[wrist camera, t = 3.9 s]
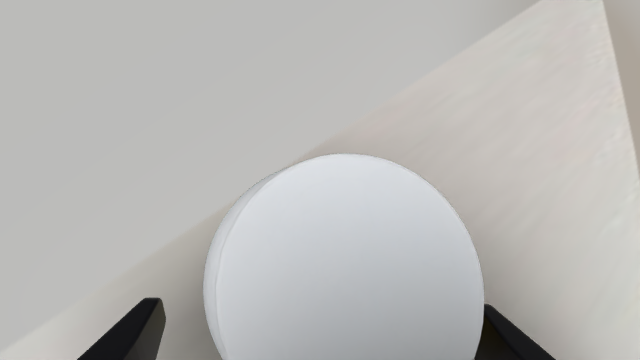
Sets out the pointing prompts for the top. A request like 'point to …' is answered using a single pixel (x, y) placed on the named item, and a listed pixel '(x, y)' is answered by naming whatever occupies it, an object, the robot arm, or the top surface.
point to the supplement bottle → (343, 268)
